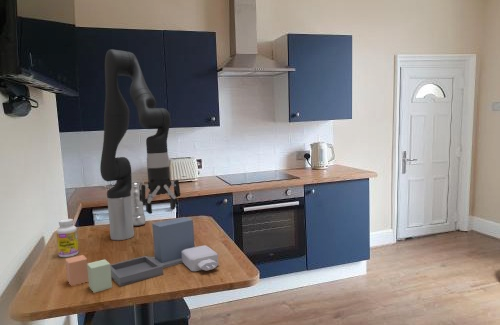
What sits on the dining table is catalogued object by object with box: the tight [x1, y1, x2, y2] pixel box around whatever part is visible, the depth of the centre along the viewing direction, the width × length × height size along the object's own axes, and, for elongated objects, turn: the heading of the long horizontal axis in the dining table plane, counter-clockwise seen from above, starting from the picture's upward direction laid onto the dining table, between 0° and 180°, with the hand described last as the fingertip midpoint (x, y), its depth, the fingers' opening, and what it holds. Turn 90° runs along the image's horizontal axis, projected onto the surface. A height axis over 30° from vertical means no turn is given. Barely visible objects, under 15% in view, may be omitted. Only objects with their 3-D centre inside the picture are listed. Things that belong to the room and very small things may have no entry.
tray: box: [110, 255, 164, 288], centre depth 116 cm, size 13×13×2 cm
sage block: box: [87, 258, 113, 294], centre depth 106 cm, size 5×5×7 cm
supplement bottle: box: [56, 218, 79, 258], centre depth 136 cm, size 7×7×13 cm
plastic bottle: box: [131, 181, 146, 227], centre depth 173 cm, size 6×7×20 cm
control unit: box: [150, 216, 196, 269], centre depth 126 cm, size 10×14×13 cm
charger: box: [181, 244, 219, 272], centre depth 118 cm, size 5×9×15 cm
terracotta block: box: [65, 254, 89, 287], centre depth 111 cm, size 5×5×7 cm
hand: (161, 211), depth 133 cm, fingers open, 8 cm apart
